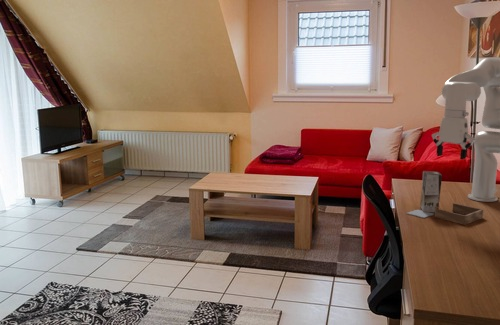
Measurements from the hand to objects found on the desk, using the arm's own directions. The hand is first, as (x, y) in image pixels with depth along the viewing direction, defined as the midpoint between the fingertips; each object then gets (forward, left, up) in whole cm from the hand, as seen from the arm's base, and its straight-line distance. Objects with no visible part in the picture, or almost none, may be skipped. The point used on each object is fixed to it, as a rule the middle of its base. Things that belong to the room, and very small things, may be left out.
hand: (451, 157), depth 194 cm
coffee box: (-3, -9, -25) cm, 27 cm away
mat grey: (+5, -8, -25) cm, 27 cm away
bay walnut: (-3, +4, -25) cm, 25 cm away
